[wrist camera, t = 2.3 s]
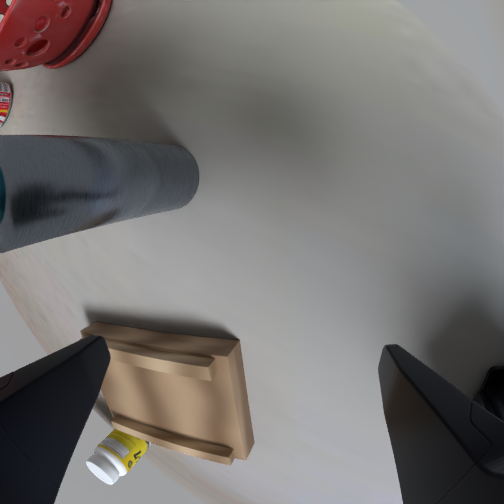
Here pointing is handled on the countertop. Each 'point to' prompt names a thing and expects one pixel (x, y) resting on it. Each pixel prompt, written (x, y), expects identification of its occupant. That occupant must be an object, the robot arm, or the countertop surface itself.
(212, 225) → the countertop surface
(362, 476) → the countertop surface
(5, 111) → the soda can
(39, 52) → the plant pot
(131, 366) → the stand
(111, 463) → the supplement bottle
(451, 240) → the countertop surface
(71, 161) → the slim bottle
